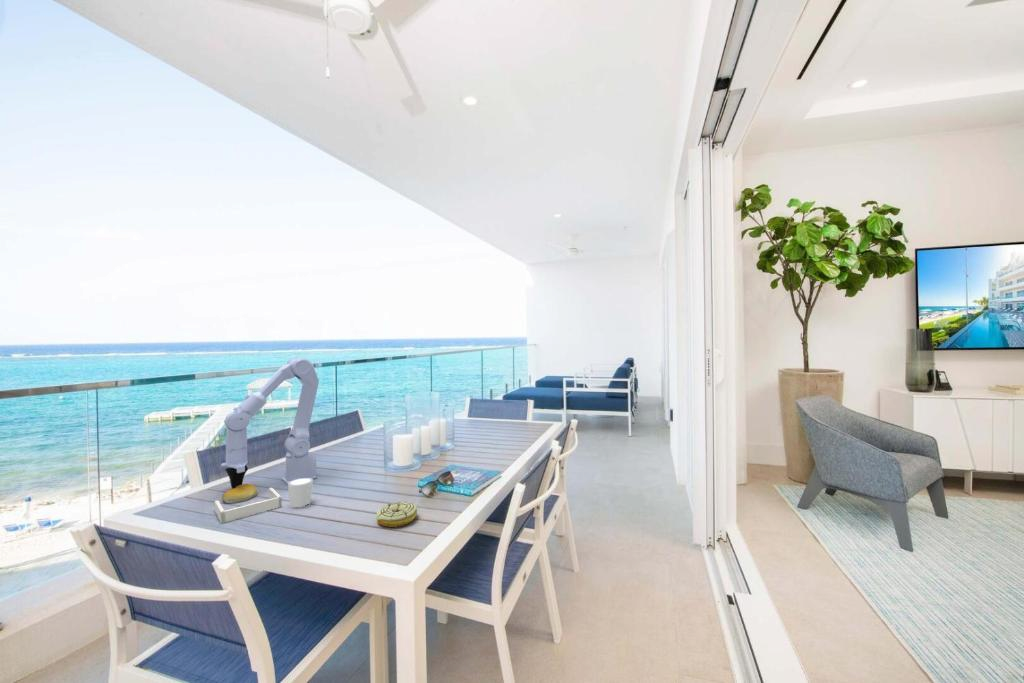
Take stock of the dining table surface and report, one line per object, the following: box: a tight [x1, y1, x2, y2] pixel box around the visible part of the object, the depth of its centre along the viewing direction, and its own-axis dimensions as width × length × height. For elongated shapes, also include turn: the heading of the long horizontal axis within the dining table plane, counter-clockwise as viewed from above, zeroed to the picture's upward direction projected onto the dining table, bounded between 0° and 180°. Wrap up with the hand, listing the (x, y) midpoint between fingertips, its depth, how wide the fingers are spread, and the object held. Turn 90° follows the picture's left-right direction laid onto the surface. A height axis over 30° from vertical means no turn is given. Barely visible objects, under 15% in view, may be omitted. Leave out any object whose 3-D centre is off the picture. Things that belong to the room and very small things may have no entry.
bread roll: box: [222, 483, 259, 504], centre depth 121 cm, size 8×9×4 cm
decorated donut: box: [376, 501, 418, 528], centre depth 106 cm, size 10×11×4 cm
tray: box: [214, 487, 283, 524], centre depth 113 cm, size 15×11×3 cm
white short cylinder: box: [287, 478, 314, 508], centre depth 116 cm, size 7×7×7 cm
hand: (236, 489), depth 125 cm, fingers closed
